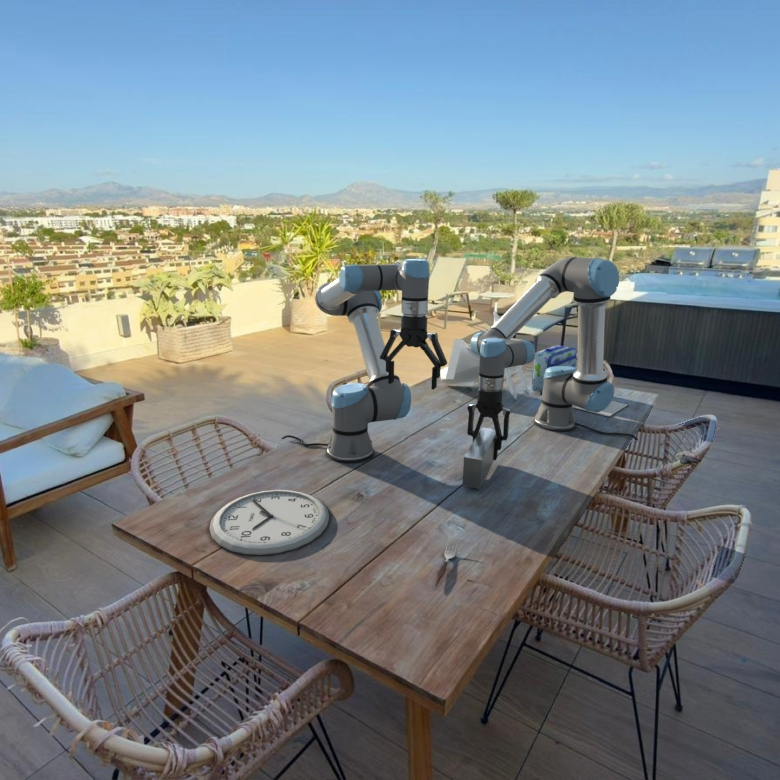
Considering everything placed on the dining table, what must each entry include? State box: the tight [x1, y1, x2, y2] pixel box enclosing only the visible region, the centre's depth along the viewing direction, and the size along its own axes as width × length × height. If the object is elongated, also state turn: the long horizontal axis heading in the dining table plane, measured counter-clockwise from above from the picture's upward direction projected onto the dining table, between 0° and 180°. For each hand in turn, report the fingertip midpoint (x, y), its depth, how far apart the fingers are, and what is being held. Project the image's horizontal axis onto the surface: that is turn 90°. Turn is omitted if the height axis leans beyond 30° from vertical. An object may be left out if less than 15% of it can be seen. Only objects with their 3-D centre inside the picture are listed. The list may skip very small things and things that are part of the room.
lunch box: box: [531, 345, 577, 394], centre depth 245 cm, size 26×11×21 cm, turn 134°
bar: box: [462, 426, 497, 490], centre depth 160 cm, size 24×5×9 cm, turn 158°
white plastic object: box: [440, 310, 531, 400], centre depth 245 cm, size 37×45×31 cm
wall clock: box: [209, 489, 330, 556], centre depth 135 cm, size 30×2×30 cm
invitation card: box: [573, 400, 629, 418], centre depth 226 cm, size 21×1×15 cm
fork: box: [435, 540, 459, 587], centre depth 117 cm, size 3×16×2 cm, turn 160°
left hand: (412, 385), depth 156 cm, fingers open, 13 cm apart
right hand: (486, 456), depth 169 cm, fingers closed on bar, 5 cm apart
